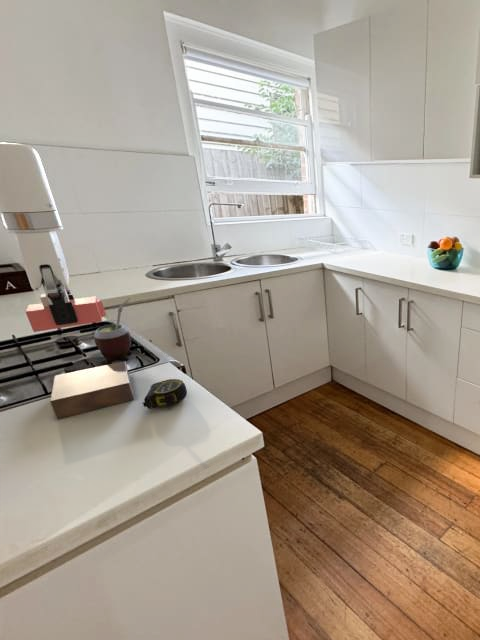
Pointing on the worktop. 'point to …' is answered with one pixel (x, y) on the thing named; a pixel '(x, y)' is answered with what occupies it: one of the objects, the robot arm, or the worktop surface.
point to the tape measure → (165, 394)
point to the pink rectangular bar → (84, 309)
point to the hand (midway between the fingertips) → (67, 318)
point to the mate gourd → (114, 340)
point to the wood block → (90, 389)
